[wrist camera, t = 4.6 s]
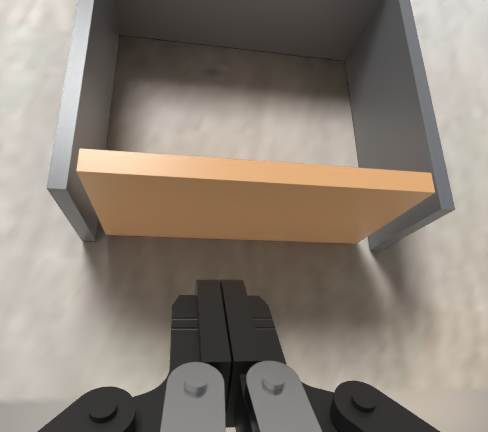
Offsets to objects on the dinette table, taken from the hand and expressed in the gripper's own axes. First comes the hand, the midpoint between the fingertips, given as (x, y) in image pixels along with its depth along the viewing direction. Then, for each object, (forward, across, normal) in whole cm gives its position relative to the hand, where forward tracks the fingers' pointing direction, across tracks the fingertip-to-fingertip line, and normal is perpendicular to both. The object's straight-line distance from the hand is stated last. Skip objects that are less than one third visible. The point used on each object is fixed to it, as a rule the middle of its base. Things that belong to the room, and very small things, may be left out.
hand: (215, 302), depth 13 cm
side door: (+7, -2, +1) cm, 7 cm away
